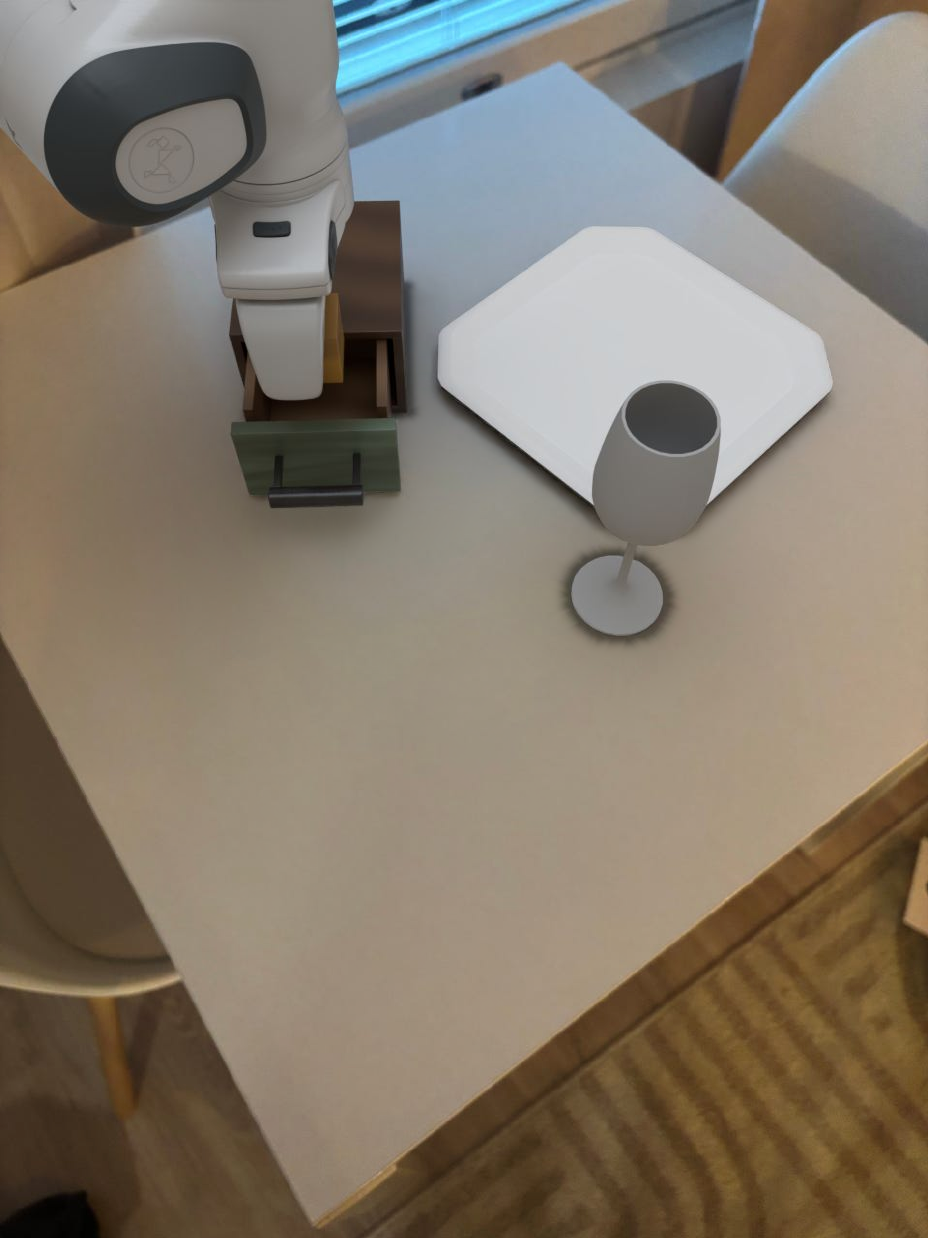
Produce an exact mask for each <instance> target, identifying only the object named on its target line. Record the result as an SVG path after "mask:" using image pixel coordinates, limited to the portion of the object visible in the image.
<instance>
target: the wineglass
mask: <svg viewBox="0 0 928 1238" xmlns="http://www.w3.org/2000/svg"><path fill="white" fill-rule="evenodd" d="M720 438H721V417H720V414H719V411H718V409H717V407H716V406H715V404H714V403H713V401H712V400H711V399H710V398H709V397H708V396H707V395H706V394H705V393H704V392H702V391H700V390H699V389H697V388H695V387H693V386H691V385H688V384H686V383H683V382H677V381H672V380H660V381H655V382H649V383H647V384H644V385H642V386H640V387H638V388H637V389H635V390H634V391H633V392H631V393H630V395H629V396H628V397H627V398H626V400H625V401H624V403H623V404H622V406H621V408H620V409H619V411H618V413H617V415H616V417H615V419H614V421H613V423H612V425H611V427H610V429H609V431H608V434H607V436H606V438H605V441H604V443H603V446H602V448H601V451H600V453H599V456H598V459H597V461H596V464H595V467H594V472H593V480H592V499H593V503H594V507H595V508H594V507H593V508H594V509H595V512H596V513H597V516H598V517H599V520H600V521H601V523H602V525H603V526H604V528H606V529H607V531H609V533H610V534H612V535H614V536H615V537H616V538H617V539H619V540H621V541H624V542H626V547H625V550H624V554H623V555H604V556H600V557H597V558H594V559H592V560H590V561H588V562H587V563H585V564H584V565H583V566H582V567H580V568H579V570H578V571H577V573H576V574H575V576H574V578H573V581H572V584H571V593H570V597H571V601H572V605H573V608H574V610H575V612H576V614H577V615H578V616H579V618H580V619H581V620H582V621H583V622H584V623H585V624H586V625H587V626H589V627H590V628H591V629H593V630H595V631H598V632H599V633H602V634H605V635H610V636H614V637H627V636H631V635H637V634H639V633H642V632H643V631H645V630H647V629H648V628H649V627H650V626H652V625H653V624H654V623H655V622H656V620H657V619H658V617H659V615H660V613H661V611H662V608H663V605H664V592H663V589H662V585H661V583H660V581H659V579H658V578H657V576H656V575H655V573H654V572H653V571H652V570H651V569H650V568H649V567H647V566H646V565H645V564H643V563H642V562H641V561H639V560H636V559H634V557H635V554H636V551H637V548H638V546H641V547H658V546H663V545H667V544H669V543H671V542H673V541H676V540H678V539H679V538H681V537H683V536H684V535H685V534H687V533H688V532H689V531H690V530H691V529H693V528H694V526H695V525H696V523H697V522H698V521H699V519H700V518H701V517H702V514H703V512H705V509H706V508H707V506H706V505H707V502H708V500H709V497H710V493H711V490H712V486H713V482H714V478H715V473H716V468H717V463H718V457H719V449H720Z"/></svg>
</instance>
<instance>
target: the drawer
mask: <svg viewBox="0 0 928 1238" xmlns="http://www.w3.org/2000/svg"><path fill="white" fill-rule="evenodd" d="M242 401H243V402H242V413H243V416H244V420H245V421H232V422H231V424H230V438H231V440H232V444H233V447H234V450H235V453H236V457H237V459H238V463H239V465H240V470H241V472H242V475H243V478H244V482H245V485H246V489H247V491H248V494H249V496H252V497H254V496H268V505H269V507H270V509H301V508H303V509H304V508H330V507H331V508H334V507H337V508H338V507H340V508H341V507H363V506H365V505H364V504H365V493H392V492H393V493H395V492H397V493H398V492H402V477H401V465H400V464H401V463H400V451H399V450H400V449H399V439H398V437H399V436H398V425H397V418H396V417H393V416H392V414H393V413H392V409H391V352H390V339H389V338H388V339H345V340H344V371H343V383H323V389H322V393H321V395H320V396H319V397H317V398H314V399H306V400H276V399H272V398H270V397H268V396H267V395H266V394H265V393H264V392H263V390H262V388H261V386H260V384H259V381H258V378H257V376H256V373H255V370H254V367H253V364H252V362H251V359H250V356H249V353H248V354H247V365H246V376H245V388H244V387H243V399H242Z"/></svg>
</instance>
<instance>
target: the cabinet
mask: <svg viewBox="0 0 928 1238" xmlns="http://www.w3.org/2000/svg"><path fill="white" fill-rule="evenodd" d="M403 252H404V251H403V235H402V215H401V201H400V199H399V200H398V199H397V200H354V206H353V210H352V213H351V215H350V217H349V219H348V220H347V222H346V224H345V228H344V232H343V235H342V237H341V240H340V243H339V246H338V249H337V255H336V261H335V268H334V278H333V279H332V289H331V293H338V296H339V304H340V311H341V318H342V326H343V333H344V340H345V339H388V338H389V339H390V352H391V409H392V414H394V413H395V414H396V413H397V414H399V413H407V412H408V396H407V395H408V394H407V393H408V389H407V347H406V345H407V343H406V341H407V339H406V297H405V296H406V295H405V290H406V289H405V273H404V271H405V269H404V253H403ZM230 311H231V312H230V322H229V332H228V337H229V340H230V344H231V348H232V351H233V355H234V358H235V362H236V365H237V370H238V372H239V376H240V380H241V383H242V386H243V389H244V388H245V376H246V365H247V354H248V350H247V347H246V343H245V340H244V337H243V334H242V330H241V327H240V323H239V318H238V313H237V307H236V299H234V298H232V303H231V310H230Z"/></svg>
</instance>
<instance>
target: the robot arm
mask: <svg viewBox="0 0 928 1238" xmlns="http://www.w3.org/2000/svg"><path fill="white" fill-rule="evenodd" d="M339 68H340V50H339V40H338V32H337V22H336V15H335V7H334V0H0V129H1V130H2V131H3V132H4V133H5V134H6V135H7V137H8V138H9V139H10V140H11V141H12V142H13V143H14V144H15V145H16V147H17V148H18V149H19V150H20V151H21V152H22V154H24V156H25V157H26V158H27V159H28V160H29V161H30V162H31V164H32V165H33V166H34V167H35V168H36V169H37V171H39V172H40V174H41V175H42V176H43V177H44V178H45V179H46V180H47V181H48V182H49V183H50V185H52V187H53V188H54V189H55V190H56V191H57V192H58V193H60V195H61V196H62V197H63V198H64V199H65V201H66V202H67V203H68V204H69V205H70V206H71V207H73V208H74V210H76V211H78V212H79V213H81V214H82V215H84V216H85V217H87V218H89V219H91V220H94V221H96V222H98V223H100V224H104V225H107V226H112V227H117V228H140V227H146V226H152V225H155V224H159V223H161V222H164V221H168V220H170V219H171V218H173V217H175V216H177V215H180V214H182V213H183V212H186V211H187V210H188V209H190V208H192V207H194V206H195V205H198V204H199V203H201V202H203V201H204V200H206V199H207V200H208V203H209V208H210V211H211V216H212V219H213V222H214V226H213V227H214V240H215V262H216V273H217V279H218V284H219V287H220V291H221V293H222V295H223V296H224V298H225V299H233V298H234V299H236V307H237V313H238V318H239V323H240V327H241V330H242V334H243V337H244V340H245V343H246V347H247V350H248V353H249V356H250V359H251V362H252V364H253V367H254V370H255V373H256V376H257V378H258V381H259V384H260V386H261V388H262V390H263V392H264V393H265V394H266V395H267V396H268V397H270V398H272V399H276V400H306V399H314V398H317V397H319V396H320V395H321V393H322V389H323V354H324V328H325V301H326V296H328V295H329V294H330V293H331V289H332V279H333V278H334V268H335V261H336V255H337V249H338V246H339V243H340V240H341V237H342V235H343V232H344V228H345V224H346V222H347V220H348V219H349V217H350V215H351V213H352V210H353V206H354V201H355V192H354V184H353V183H354V182H353V173H352V172H353V171H352V165H351V155H350V146H349V136H348V126H347V121H346V116H345V114H344V111H343V109H342V107H341V104H340V102H339V99H338V96H337V80H338V76H339V75H338V74H339Z"/></svg>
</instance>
